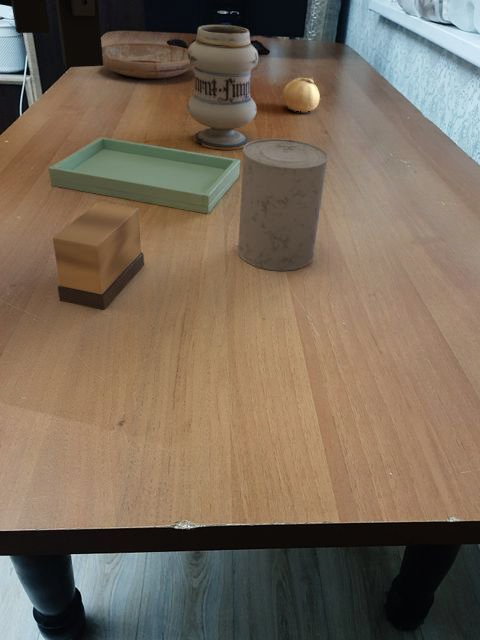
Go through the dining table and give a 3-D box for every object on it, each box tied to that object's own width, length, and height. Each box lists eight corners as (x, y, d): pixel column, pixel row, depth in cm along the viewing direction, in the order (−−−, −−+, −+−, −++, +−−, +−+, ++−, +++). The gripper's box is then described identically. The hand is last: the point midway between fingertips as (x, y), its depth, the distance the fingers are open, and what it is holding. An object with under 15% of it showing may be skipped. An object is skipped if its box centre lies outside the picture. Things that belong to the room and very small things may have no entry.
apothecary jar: (174, 137, 103) (171, 23, 92) (223, 127, 110) (227, 20, 99) (218, 156, 96) (222, 37, 85) (268, 144, 103) (277, 32, 93)
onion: (282, 114, 120) (285, 78, 116) (280, 104, 126) (283, 69, 122) (319, 117, 121) (324, 81, 116) (315, 107, 127) (320, 72, 123)
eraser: (104, 309, 58) (97, 247, 53) (59, 300, 58) (49, 238, 54) (144, 264, 65) (141, 207, 61) (104, 257, 66) (98, 199, 62)
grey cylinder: (329, 255, 71) (346, 157, 63) (276, 279, 65) (287, 174, 58) (275, 228, 76) (284, 133, 68) (221, 247, 70) (225, 147, 63)
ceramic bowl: (111, 60, 149) (109, 38, 146) (201, 68, 149) (201, 47, 146) (86, 79, 130) (83, 55, 127) (188, 89, 131) (188, 65, 128)
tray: (51, 185, 81) (48, 167, 80) (101, 152, 93) (100, 136, 92) (208, 214, 78) (208, 195, 76) (239, 176, 90) (240, 159, 88)
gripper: (149, -402, 27) (163, 81, 40) (16, -299, 43) (56, 21, 56) (-20, -464, 23) (55, 87, 36) (-97, -326, 40) (-26, 21, 52)
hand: (56, 47), depth 46 cm, fingers open, 13 cm apart
